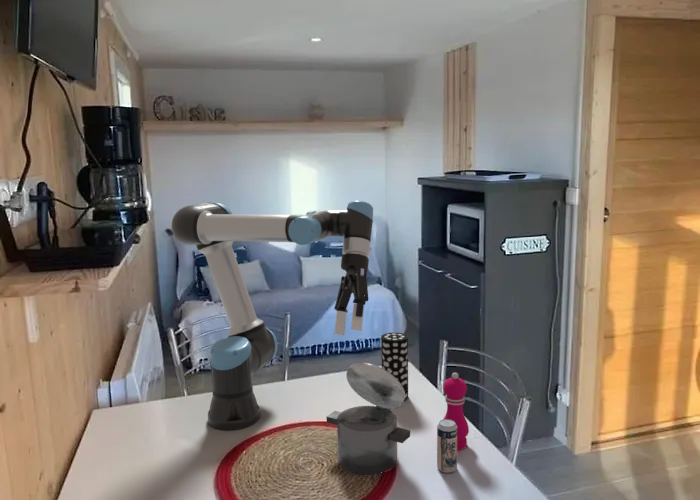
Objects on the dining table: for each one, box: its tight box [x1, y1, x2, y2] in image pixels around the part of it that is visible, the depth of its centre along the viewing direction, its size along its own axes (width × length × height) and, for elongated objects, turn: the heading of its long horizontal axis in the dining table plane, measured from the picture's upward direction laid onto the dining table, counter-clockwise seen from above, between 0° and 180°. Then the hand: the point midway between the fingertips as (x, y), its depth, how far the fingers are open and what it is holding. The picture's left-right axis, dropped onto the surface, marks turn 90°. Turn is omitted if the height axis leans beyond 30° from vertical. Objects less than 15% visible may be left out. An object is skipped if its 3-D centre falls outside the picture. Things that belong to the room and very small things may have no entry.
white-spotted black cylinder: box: [380, 332, 409, 402], centre depth 181 cm, size 8×8×20 cm
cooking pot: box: [325, 405, 411, 476], centre depth 145 cm, size 22×15×11 cm
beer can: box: [436, 418, 458, 474], centre depth 140 cm, size 5×5×12 cm
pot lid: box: [345, 361, 405, 411], centre depth 147 cm, size 16×17×3 cm
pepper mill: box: [442, 372, 470, 451], centre depth 151 cm, size 7×7×20 cm
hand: (347, 332), depth 154 cm, fingers open, 13 cm apart
